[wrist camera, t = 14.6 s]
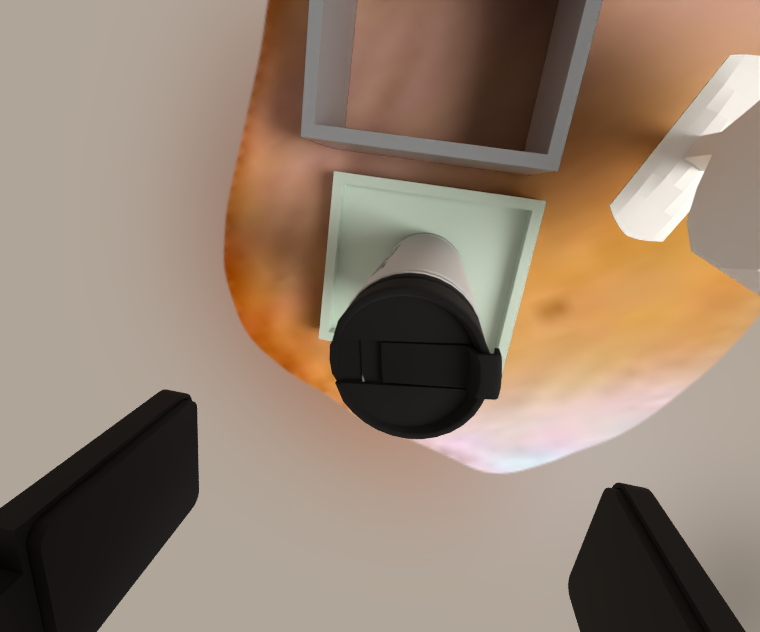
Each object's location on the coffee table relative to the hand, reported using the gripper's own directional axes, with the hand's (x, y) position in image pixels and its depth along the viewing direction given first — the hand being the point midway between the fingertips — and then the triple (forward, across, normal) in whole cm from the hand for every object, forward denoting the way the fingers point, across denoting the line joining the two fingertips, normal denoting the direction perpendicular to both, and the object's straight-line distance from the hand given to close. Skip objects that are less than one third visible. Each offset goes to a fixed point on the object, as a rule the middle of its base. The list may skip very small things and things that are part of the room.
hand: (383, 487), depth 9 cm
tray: (+27, 0, +1) cm, 27 cm away
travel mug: (+26, 0, 0) cm, 26 cm away
